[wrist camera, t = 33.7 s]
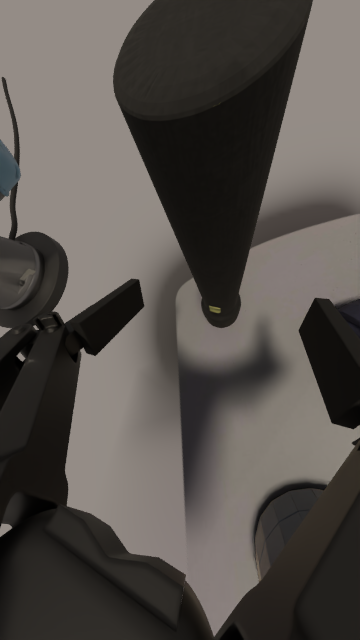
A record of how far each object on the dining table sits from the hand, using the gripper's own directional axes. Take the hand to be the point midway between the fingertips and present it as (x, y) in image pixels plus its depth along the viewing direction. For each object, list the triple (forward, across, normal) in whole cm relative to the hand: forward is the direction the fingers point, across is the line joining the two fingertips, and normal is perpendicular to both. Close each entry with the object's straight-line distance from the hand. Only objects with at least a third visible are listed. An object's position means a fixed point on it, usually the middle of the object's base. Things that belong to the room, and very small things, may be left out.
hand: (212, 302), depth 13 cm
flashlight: (+11, 0, -8) cm, 14 cm away
